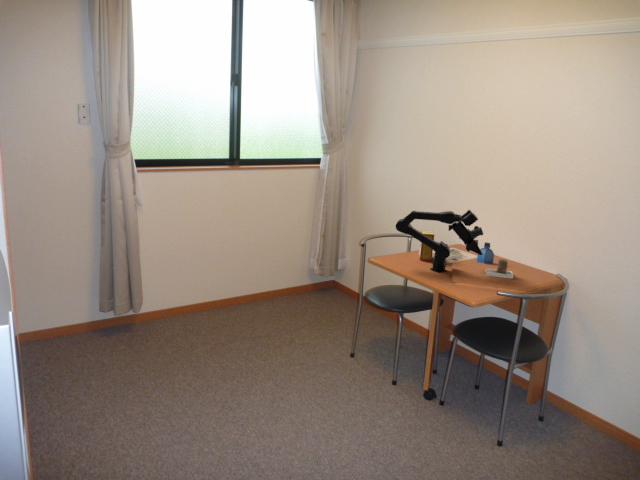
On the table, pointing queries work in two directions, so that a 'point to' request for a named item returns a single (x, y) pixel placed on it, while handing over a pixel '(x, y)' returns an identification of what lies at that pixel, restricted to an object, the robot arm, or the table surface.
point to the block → (502, 266)
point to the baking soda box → (426, 247)
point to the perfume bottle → (486, 255)
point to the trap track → (494, 273)
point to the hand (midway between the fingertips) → (481, 254)
